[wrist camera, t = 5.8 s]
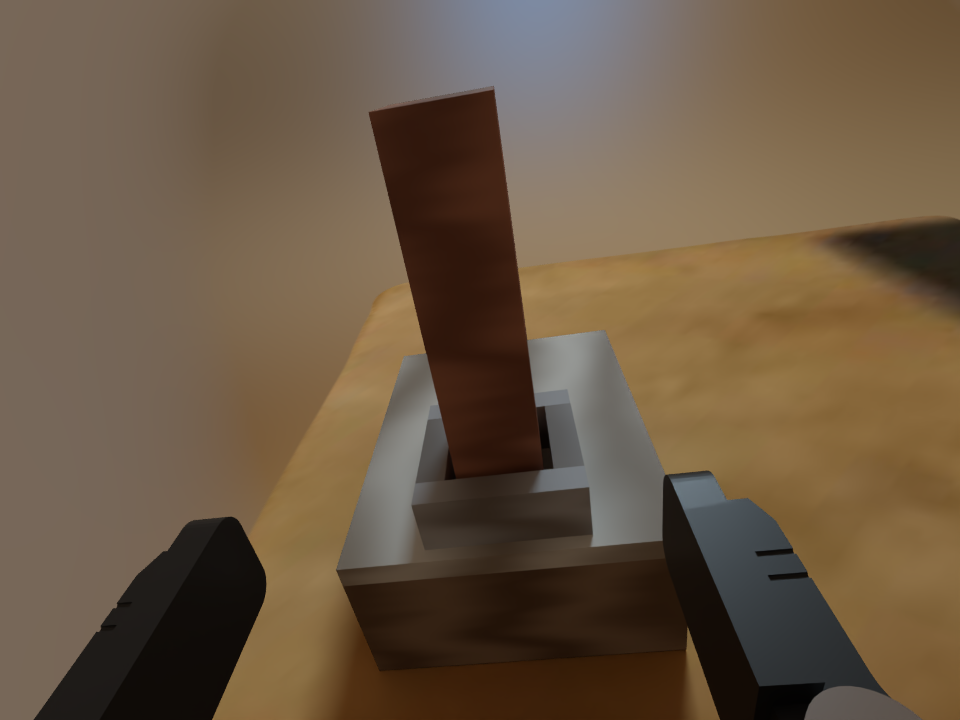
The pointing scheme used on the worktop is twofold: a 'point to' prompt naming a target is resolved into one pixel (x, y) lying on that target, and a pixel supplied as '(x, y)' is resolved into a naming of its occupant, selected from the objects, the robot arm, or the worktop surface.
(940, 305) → the worktop surface
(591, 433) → the gray socket block
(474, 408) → the wooden key
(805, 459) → the worktop surface
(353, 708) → the worktop surface
